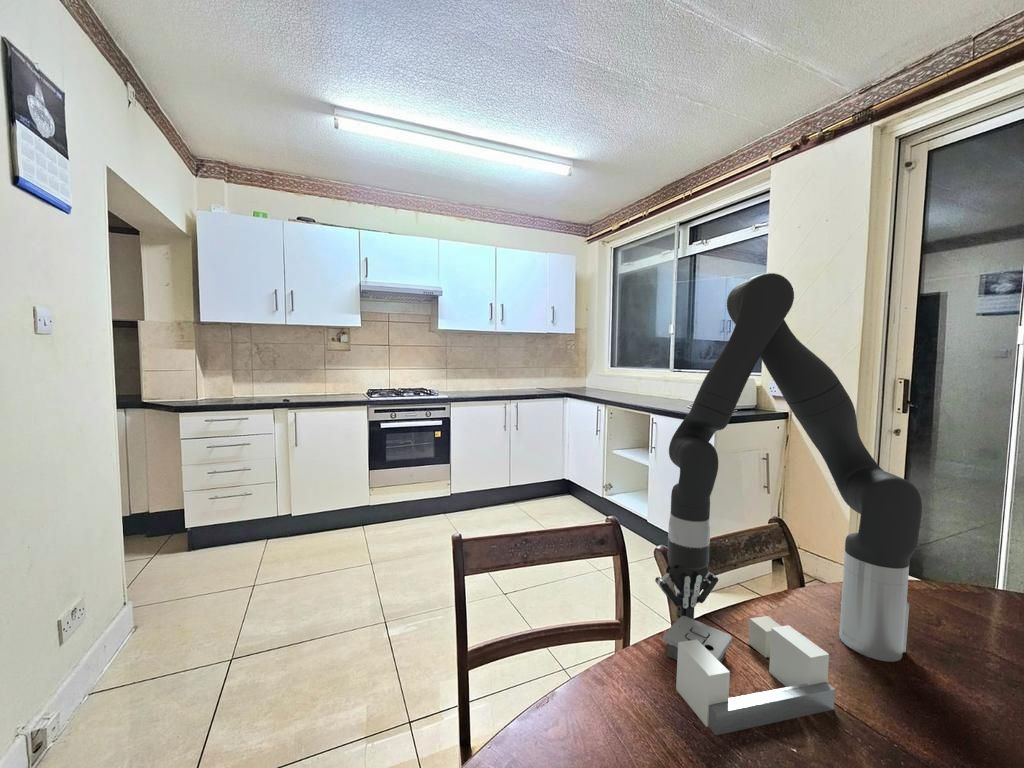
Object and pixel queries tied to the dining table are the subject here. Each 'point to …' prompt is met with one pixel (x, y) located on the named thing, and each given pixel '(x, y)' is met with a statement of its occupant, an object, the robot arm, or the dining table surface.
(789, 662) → the block
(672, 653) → the electrical switch
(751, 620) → the block
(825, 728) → the dining table surface
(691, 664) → the block
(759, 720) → the grey rectangular bar
